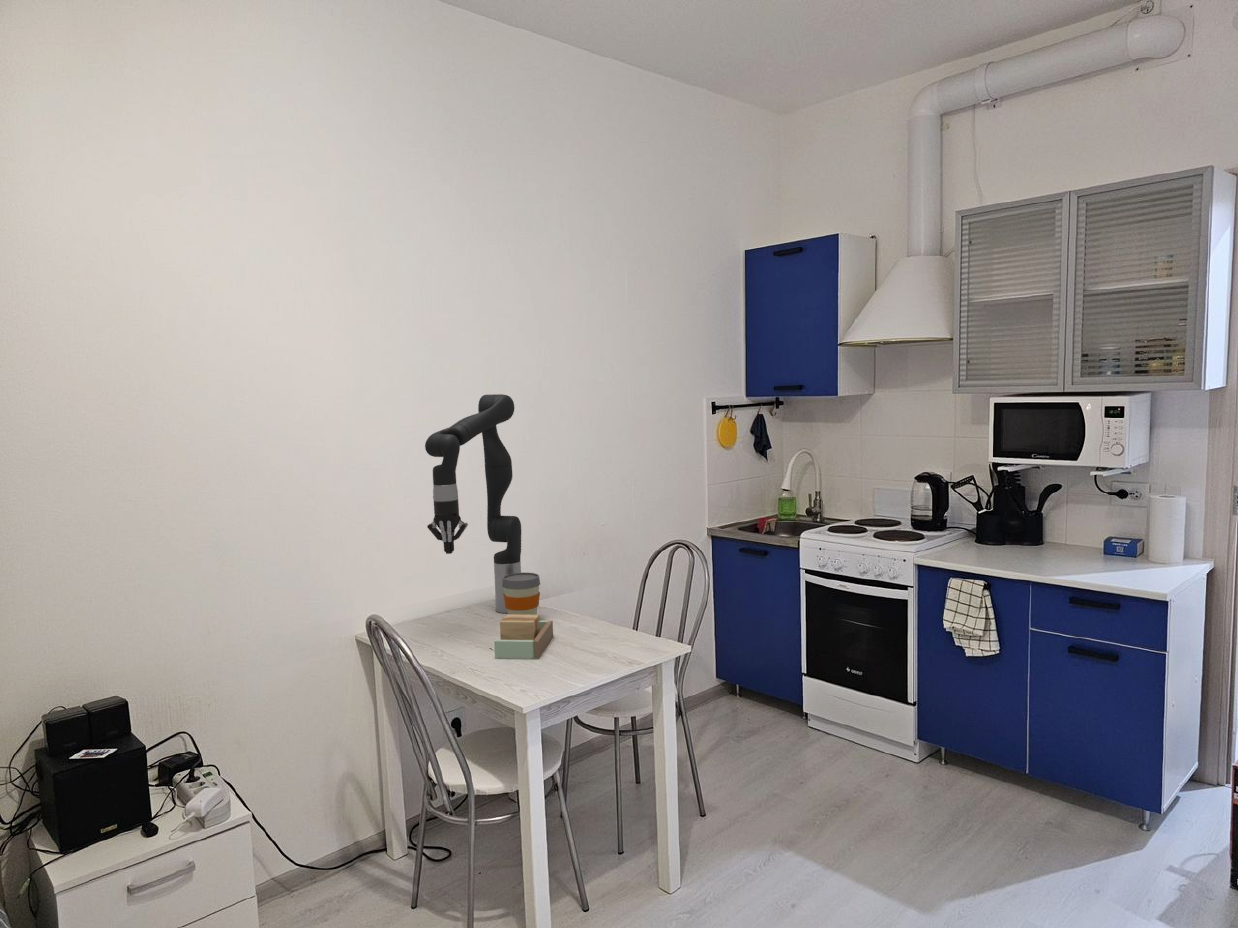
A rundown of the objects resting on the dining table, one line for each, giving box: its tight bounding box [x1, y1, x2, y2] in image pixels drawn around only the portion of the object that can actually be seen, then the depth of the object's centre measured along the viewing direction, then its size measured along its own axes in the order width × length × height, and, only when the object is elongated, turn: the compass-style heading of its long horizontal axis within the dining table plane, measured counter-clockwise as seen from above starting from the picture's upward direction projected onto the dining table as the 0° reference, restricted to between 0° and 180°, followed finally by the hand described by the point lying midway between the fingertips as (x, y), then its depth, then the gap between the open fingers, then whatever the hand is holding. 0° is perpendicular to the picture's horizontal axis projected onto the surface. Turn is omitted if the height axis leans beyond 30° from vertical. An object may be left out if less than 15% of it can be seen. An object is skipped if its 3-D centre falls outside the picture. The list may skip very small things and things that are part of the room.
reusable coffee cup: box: [502, 572, 541, 615], centre depth 271 cm, size 12×13×15 cm
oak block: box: [499, 613, 541, 640], centre depth 243 cm, size 8×10×9 cm
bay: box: [493, 620, 554, 660], centre depth 244 cm, size 21×13×5 cm, turn 173°
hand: (449, 553), depth 255 cm, fingers closed
